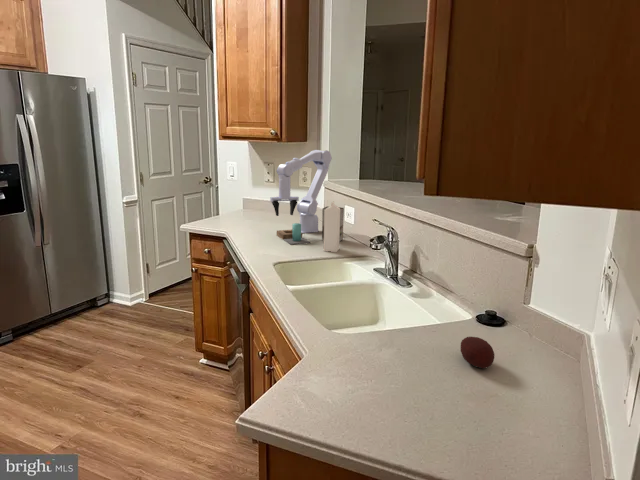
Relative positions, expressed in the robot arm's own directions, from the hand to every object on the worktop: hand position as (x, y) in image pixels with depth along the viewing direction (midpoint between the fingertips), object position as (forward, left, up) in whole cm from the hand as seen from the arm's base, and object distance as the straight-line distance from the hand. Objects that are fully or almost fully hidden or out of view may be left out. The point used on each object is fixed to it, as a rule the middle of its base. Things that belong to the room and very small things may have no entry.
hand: (284, 215), depth 234 cm
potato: (+2, +142, -11) cm, 142 cm away
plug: (-1, +15, -10) cm, 18 cm away
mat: (-1, +15, -10) cm, 18 cm away
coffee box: (-19, +17, -11) cm, 28 cm away
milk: (-10, +35, -11) cm, 38 cm away
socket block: (-1, +4, -10) cm, 11 cm away
